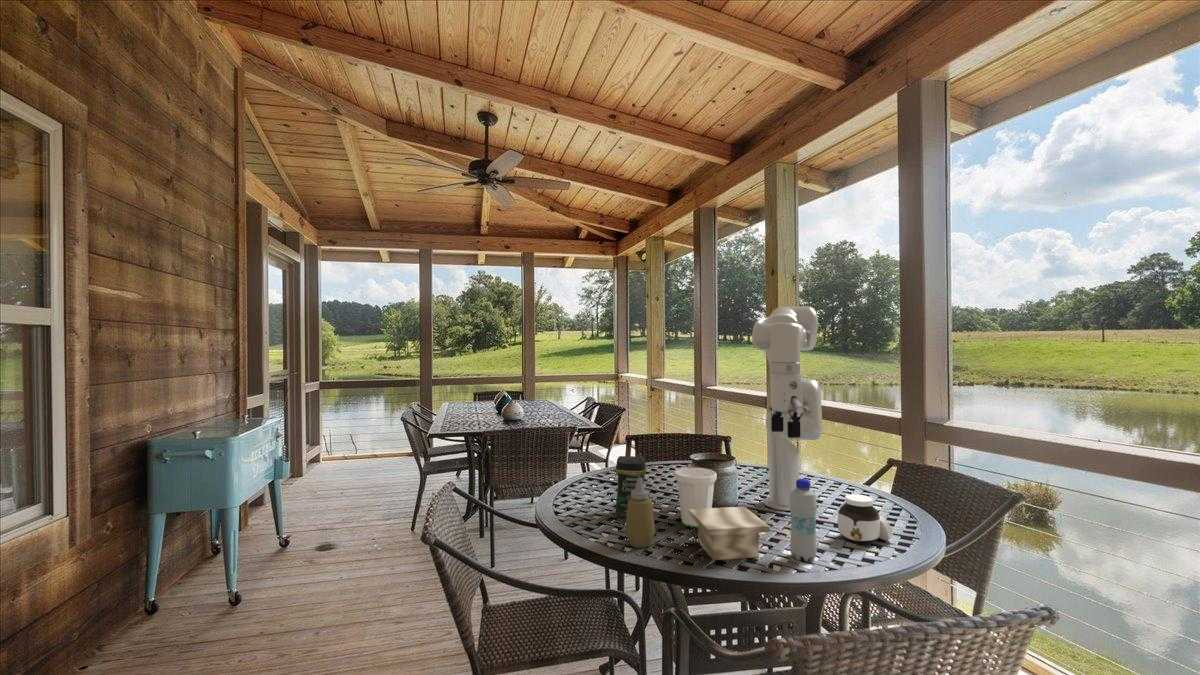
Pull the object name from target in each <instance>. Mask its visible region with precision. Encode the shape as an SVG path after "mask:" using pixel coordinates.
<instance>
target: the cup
mask: <svg viewBox="0 0 1200 675" xmlns="http://www.w3.org/2000/svg"><path fill="white" fill-rule="evenodd" d="M674 478H675V480H676V483H677V492H678V500H679V508H680V516H681V523H682V525H684V526H685V525H686V527H688V526H690V527H689V528H693V527H695V528H694V529H696V528H698V524H697V523H696V522H695V521H694V520H693V519H692V517H691V516H690V515H689V509H705V508H713V500H714V499H713V498H714V488H715V482H716V481H717V478H718V476H717V472H716V471H714V470H712V469H710V468H704V467H683V468H679V469H677V470H675V471H674Z"/></svg>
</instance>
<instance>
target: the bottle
mask: <svg viewBox="0 0 1200 675" xmlns="http://www.w3.org/2000/svg"><path fill="white" fill-rule="evenodd" d="M789 505H790V507H789V509H790V510H791V511H790V540H789V541H790V542H789V543H790V544H789V547H790V554H791V556H792V557H793V558H794V559H796V560H798V561H801V560H802V558H803V560H804V562H808V561H814V560H815V558H816V555H817V552H818V548H817V547H818V546H817V537H816V536H817V534H816V533H817V532H816V531H817V528H816V526H817V522H816V521H817V520H816V514H817V512H818V503H817V494H816V492H815V491H814V490H812V489H811V482H810V480H809V479H807V478H799V479H798V480H797V481H796V489H793V490H791V493H790V500H789Z"/></svg>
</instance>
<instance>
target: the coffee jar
mask: <svg viewBox="0 0 1200 675" xmlns="http://www.w3.org/2000/svg"><path fill="white" fill-rule="evenodd" d="M646 466H647V465H646V460H645V457H644V456H635V455H634V456H632V455H625V456H624V455H619V456H618V458H617V459H616V465H615V472H616V475H617V492H616V500H615V501H616V502H615V515H616V516H618V517H619V518H625V519H626V518H627V507H628V500H629V499H630V498H632V497H631V492H632V490H635V488H636V484H637V479H638V478H642V481H643V485H644V486H645V476H646V472H647V467H646Z"/></svg>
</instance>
